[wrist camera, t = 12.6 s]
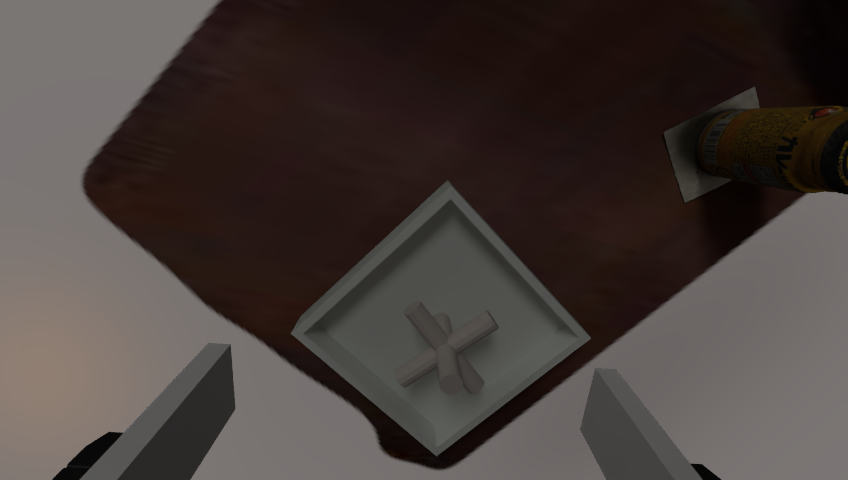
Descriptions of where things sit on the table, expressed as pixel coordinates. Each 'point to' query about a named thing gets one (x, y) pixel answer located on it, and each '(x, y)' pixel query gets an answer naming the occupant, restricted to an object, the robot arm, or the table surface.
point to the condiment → (761, 147)
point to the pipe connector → (445, 350)
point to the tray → (440, 293)
